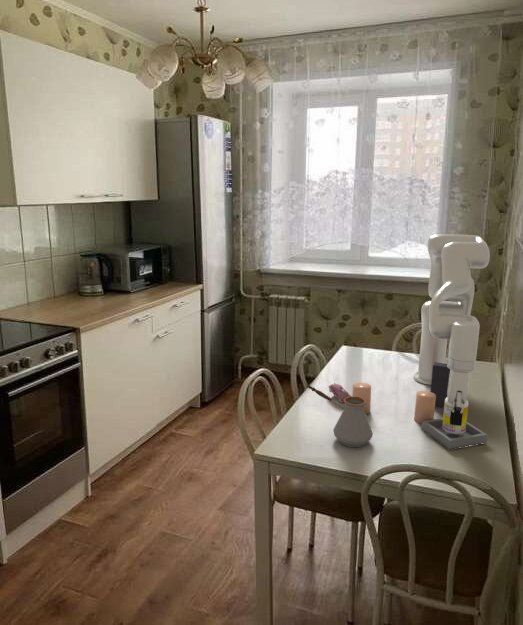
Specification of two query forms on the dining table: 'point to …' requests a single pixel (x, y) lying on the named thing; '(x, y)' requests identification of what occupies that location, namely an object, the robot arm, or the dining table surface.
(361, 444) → the coffee pot
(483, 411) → the dining table surface
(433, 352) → the robot arm
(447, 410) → the supplement bottle
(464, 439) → the tray
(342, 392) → the pink purple bumpy rod
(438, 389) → the dark grey rectangular block
